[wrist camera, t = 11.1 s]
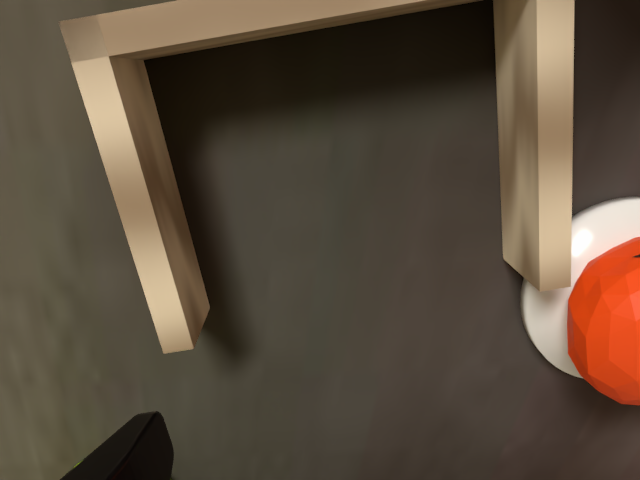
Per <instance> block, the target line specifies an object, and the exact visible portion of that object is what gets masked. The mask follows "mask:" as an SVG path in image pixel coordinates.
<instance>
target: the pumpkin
mask: <svg viewBox="0 0 640 480" xmlns="http://www.w3.org/2000/svg"><path fill="white" fill-rule="evenodd" d="M567 340H568V355H569V356H570V358H571V360H572V362H573V364H574V365H575V367H576V369H577V371H578V372H579V374H580V375H581V376H582V377H583V378H584V379H585V380H586V381H587V382H588V383H589V384H590V385H592V386H593V387H594V388H595V389H596V390H597V391H598V392H600V393H602V394H604V395H606V396H608V397H609V398H611V399H613V400H615V401H617V402H618V403H620V404H628V405H640V237H636V238H633V239H631V240H629V241H626V242H624V243H622V244H620V245H618V246H616V247H613V248H611V249H610V250H608V251H606V252H605V253H603V254H601V255H600V256H598V257H596V258H595V259H593V260H591V261H590V262H588V263H587V265H586V267H585V268H584V270H583V271H582V273H581V275H580V276H579V278H578V279H577V281H576V282H575V285H574V287H573V290H572V292H571V294H570V297H569V299H568V314H567Z"/></svg>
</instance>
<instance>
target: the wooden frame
mask: <svg viewBox="0 0 640 480" xmlns="http://www.w3.org/2000/svg"><path fill="white" fill-rule="evenodd" d="M477 1H482V0H178V1H172V2H167V3H161V4H155V5H150V6H144V7H138V8H133V9H127V10H122V11H116V12H110V13H105V14H99V15H94V16H88V17H82V18H77V19H71V20H65V21H60V22H59V25H60V28H61V31H62V35H63V38H64V41H65V44H66V47H67V50H68V54H69V57H70V60H71V63H72V66H73V69H74V72H75V76H76V79H77V82H78V85H79V88H80V91H81V95H82V98H83V101H84V104H85V107H86V110H87V113H88V117H89V120H90V123H91V126H92V129H93V132H94V136H95V139H96V142H97V145H98V148H99V151H100V154H101V158H102V161H103V164H104V167H105V170H106V173H107V176H108V180H109V183H110V186H111V189H112V192H113V195H114V199H115V202H116V205H117V208H118V211H119V214H120V217H121V221H122V224H123V227H124V230H125V233H126V236H127V240H128V243H129V246H130V249H131V252H132V255H133V258H134V262H135V265H136V268H137V271H138V274H139V277H140V281H141V284H142V287H143V290H144V293H145V296H146V299H147V303H148V306H149V309H150V312H151V315H152V318H153V322H154V325H155V328H156V331H157V334H158V337H159V340H160V344H161V347H162V350H163V353H164V354H165V353H171V352H177V351H183V350H189V349H194V347H195V344H196V342H197V339H198V337H199V334H200V332H201V329H202V327H203V324H204V322H205V319H206V317H207V314H208V312H209V309H210V305H209V301H208V298H207V294H206V290H205V287H204V283H203V279H202V275H201V272H200V268H199V264H198V261H197V257H196V253H195V249H194V246H193V242H192V238H191V235H190V231H189V227H188V223H187V220H186V216H185V212H184V209H183V205H182V201H181V197H180V194H179V190H178V186H177V183H176V179H175V175H174V172H173V168H172V164H171V160H170V157H169V153H168V149H167V146H166V142H165V138H164V134H163V131H162V127H161V123H160V120H159V116H158V112H157V108H156V105H155V101H154V97H153V94H152V90H151V86H150V82H149V79H148V75H147V71H146V68H145V64H144V60H147V59H153V58H158V57H164V56H170V55H175V54H181V53H187V52H192V51H198V50H204V49H210V48H215V47H221V46H227V45H232V44H238V43H244V42H249V41H255V40H261V39H266V38H272V37H278V36H283V35H289V34H295V33H300V32H306V31H312V30H317V29H323V28H329V27H335V26H340V25H346V24H352V23H357V22H363V21H369V20H374V19H380V18H386V17H391V16H397V15H403V14H408V13H414V12H420V11H425V10H431V9H437V8H442V7H448V6H454V5H460V4H465V3H471V2H477ZM493 8H494V34H495V60H496V86H497V112H498V138H499V163H500V189H501V215H502V241H503V259H504V260H505V261H506V262H507V263H508V264H509V265H511V266H512V267H513V268H514V269H515V270H516V271H517V272H518V273H519V274H521V275H522V276H523V277H524V278H525V279H526V280H527V281H528V282H530V283H531V284H532V285H533V286H534V287H535V288H536V289H537V290H538V291H540V292H542V291H548V290H554V289H560V288H566V287H571V235H572V155H573V76H574V0H493Z"/></svg>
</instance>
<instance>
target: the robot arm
mask: <svg viewBox="0 0 640 480" xmlns="http://www.w3.org/2000/svg"><path fill="white" fill-rule="evenodd" d="M173 458H174V452H173V446H172V442H171V439H170V436H169V433H168V430H167V427H166V424H165V422H164V419H163V416H162V415H161V413H159V412H157V411H154V412H148V413H141V414H138V415H136V416H134V417H133V418H132V419H131V420H130V421H128V422H127V423H126V424H125V425H124V426H122V427H121V428H120V429H119V430H118V431H117V432H115V433H114V434H113V435H112V436H111V437H110V438H108V439H107V440H106V441H105V442H104V443H102V444H101V445H100V446H99V447H98V448H97V449H95V450H94V451H93V452H92V453H91V454H90V455H88V456H87V457H86V458H85V459H84V460H82V461H81V462H80V463H79V464H78V465H77V466H75V467H74V468H73V469H72V470H71V471H70V472H68V473H67V474H66V475H65V476H64V477H62V478H61V479H60V480H170V479H171V472H172V466H173Z"/></svg>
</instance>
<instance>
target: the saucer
mask: <svg viewBox="0 0 640 480" xmlns="http://www.w3.org/2000/svg"><path fill="white" fill-rule="evenodd" d="M636 237H640V196H630V197H620V198H615V199H611V200H607V201H603V202H601V203H598V204H595V205H592V206H590V207H588V208H586V209H584V210H582V211H580V212H578V213H577V214H575V215H574V216H572V235H571V287H566V288H560V289H554V290H548V291H542V292H540V291H538V290H537V289H536V288H535V287H534V286H533V285H532V284H531V283H530V282H528V281H527V280H526V279H525V278H524V279H523V282H522V287H521V293H520V312H521V318H522V322H523V326H524V328H525V330H526V333H527V335H528V337H529V338H530V340H531V341H532V343H533V344H534V345H535V347H536V348H537V349H538V350H539V351H540V352H541V353H542V354H543V356H544V357H545V358H546V359H547V360H548V361H549V362H550V363H552V364H553V365H554V366H555V367H557V368H559V369H560V370H562V371H564V372H566V373H568V374H570V375H573V376H575V377H579V378H583V377H582V376H581V375H580V374H579V372H578V371H577V369H576V367H575V365H574V364H573V362H572V360H571V358H570V356H569V355H568V340H567V314H568V299H569V297H570V294H571V292H572V290H573V287H574V285H575V282H576V281H577V279H578V278H579V276H580V275H581V273H582V271H583V270H584V268H585V267H586V265H587V263H588V262H590V261H591V260H593V259H595V258H596V257H598V256H600V255H601V254H603V253H605V252H606V251H608V250H610V249H611V248H613V247H616V246H618V245H620V244H622V243H624V242H626V241H629V240H631V239H633V238H636ZM583 379H584V378H583Z"/></svg>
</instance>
